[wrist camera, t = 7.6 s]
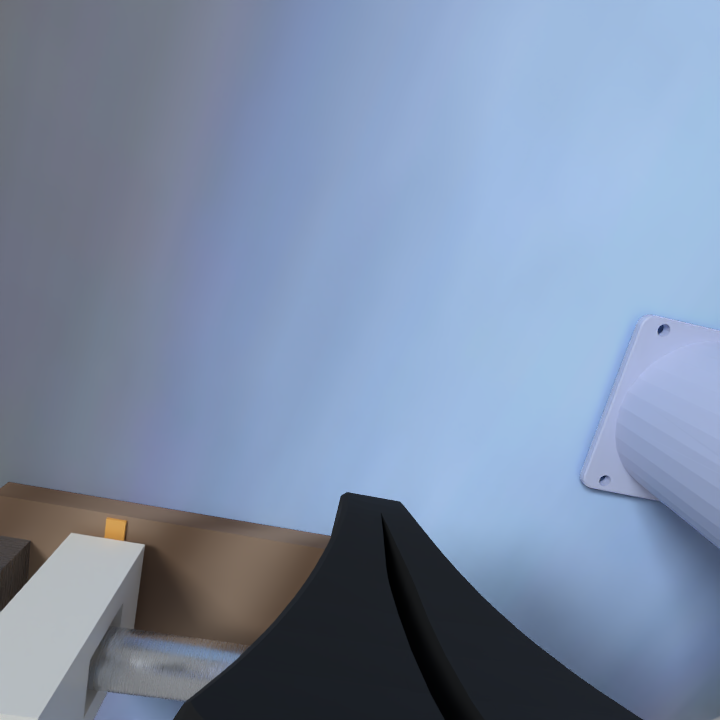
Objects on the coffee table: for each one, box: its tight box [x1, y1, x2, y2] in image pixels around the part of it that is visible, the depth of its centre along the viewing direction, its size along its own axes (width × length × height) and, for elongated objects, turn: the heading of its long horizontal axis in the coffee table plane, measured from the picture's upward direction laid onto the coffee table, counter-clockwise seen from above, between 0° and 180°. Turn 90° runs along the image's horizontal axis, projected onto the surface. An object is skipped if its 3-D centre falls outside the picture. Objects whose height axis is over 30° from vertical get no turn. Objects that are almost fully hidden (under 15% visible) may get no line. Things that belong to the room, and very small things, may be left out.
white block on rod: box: [0, 533, 145, 720], centre depth 17 cm, size 3×5×7 cm, turn 167°
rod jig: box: [0, 482, 331, 702], centre depth 19 cm, size 15×7×6 cm, turn 77°
